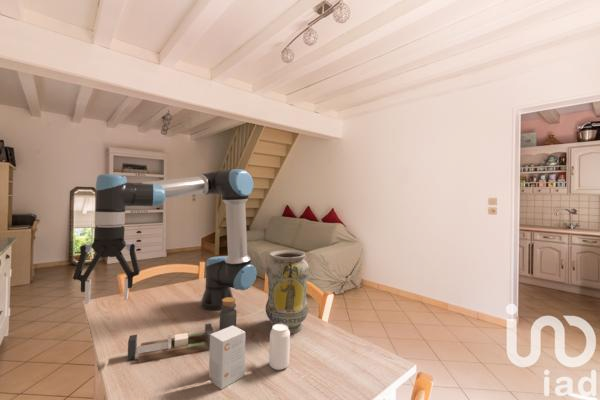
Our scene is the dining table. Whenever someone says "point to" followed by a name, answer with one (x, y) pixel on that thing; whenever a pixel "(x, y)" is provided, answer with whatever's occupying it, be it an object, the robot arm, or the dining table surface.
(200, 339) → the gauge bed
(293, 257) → the vase
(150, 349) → the grey sliding carriage
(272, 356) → the beverage can
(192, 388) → the dining table surface
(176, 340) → the cream cube
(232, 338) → the small box
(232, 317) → the bottle
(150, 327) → the dining table surface
